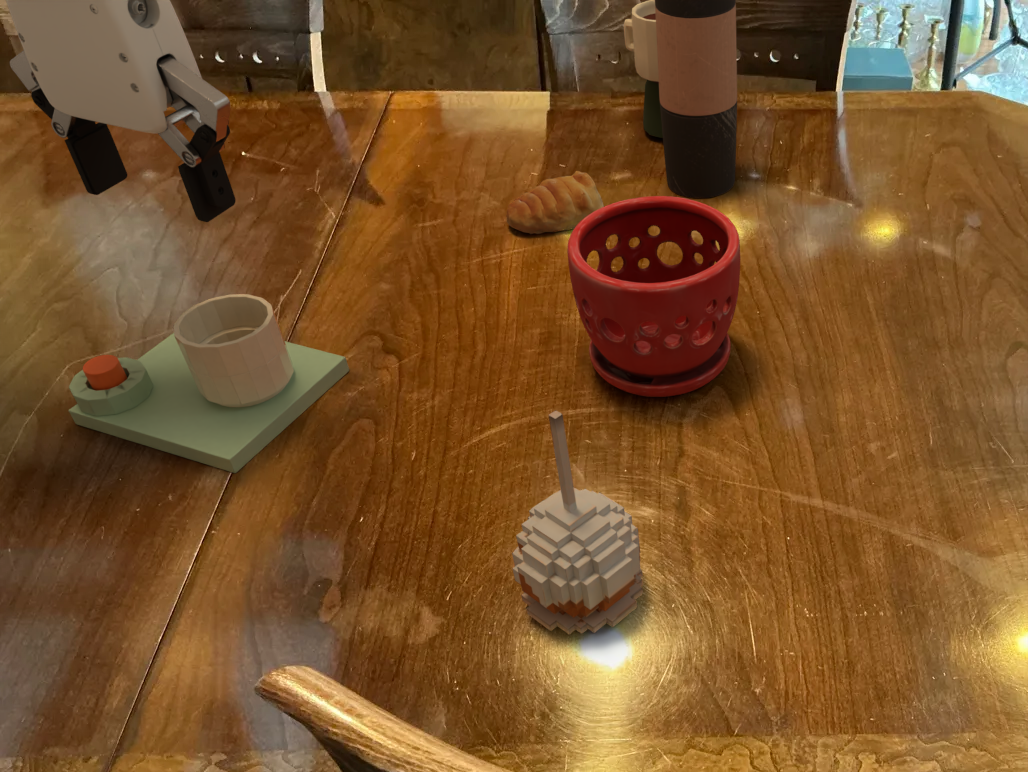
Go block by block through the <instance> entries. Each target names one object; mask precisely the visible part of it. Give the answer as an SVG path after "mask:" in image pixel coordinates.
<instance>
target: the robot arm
mask: <svg viewBox="0 0 1028 772" xmlns="http://www.w3.org/2000/svg"><path fill="white" fill-rule="evenodd" d="M5 2H6V5H7V8H8V11H9V14H10V16H11V20H12V23H13V26H14V28H15V32H16V34H17V36H18V39H19V41H20V44H21V46H22V49H23V50H22V51H21V52H19V53H18V54H17V55H15V56H14V57H13V58H11V59H10V60H9V66H10V68H11V70H12V71H13V72H14V74H15V75H16V76H17V77H18V79H19V80H20V81H21V83H22V84H23V85H24V86H25V88H26V89H27V91H28V92H31V93H30V96H31V100H32V101H33V103H34V104H35V105H36V106H37V107H38V108H39V109H40V110H41V111H42V112H43V113H44V114H45V115H46V116H47V117H48V118H49V119H50V120H51V123H50V125H51V127H52V129H53V132H54V133H55V134H56V135H57V136H59V137H60V138H62V139H64V143H65V145H66V147H67V150H68V152H69V154H70V156H71V158H72V161H73V164H74V165H75V168H76V170H77V172H78V174H79V176H80V179H81V181H82V183H83V186H84V188H85V190H86V192H87V193H89V194H90V195H94V196H99V195H100V194H103V193H104V192H105V191H108V190H109V189H111V188H113V187H115V186H116V185H118V184H119V183H122V182H123V181H125V180H126V179H128V171H127V170H126V167H125V164H124V162H123V159H122V157H121V155H120V153H119V150H118V147H117V144H116V142H115V140H114V137H113V135H112V133H111V131H110V129H109V126H112V127H113V126H114V127H118V128H122V129H127V130H132V131H136V132H140V133H141V132H142V133H145V134H146V133H147V134H152V135H153V134H154V135H157V134H158V135H159V136H160V138H161V139H162V140H163V141H164V142H165V143H166V145H168V146H169V148H170V149H171V150H172V151H173V152H174V153H175V154H176V155H177V157H179V158H180V160H181V161H182V162H183V163H182V164H180V165H178V166H177V168H178V172H179V175H180V178H181V181H182V183H183V185H184V188H185V191H186V193H187V197H188V200H189V202H190V204H191V207H192V210H193V212H194V215H195V217H196V218H197V220H198V221H200V222H204V223H209V222H210V221H212V220H214V219H216V218H217V217H218V216H220V215H222V214H223V213H224V212H226V211H227V210H229V209H231V208H233V206H234V205H236V200H237V199H236V196H235V194H234V190H233V186H232V185H231V181H230V178H229V176H228V173H227V170H226V167H225V164H224V160H223V159H222V155H221V152H222V151H224V150H225V149H226V143H225V142H226V141H227V139H228V138H229V135H230V134H231V128H230V126H229V124H230V114H231V106H232V105H231V101H230V99H229V98H228V96H227V95H226V94H224V92H221V91H220V90H219V89H217V88H216V87H214V86H213V85H212V84H210V83H209V82H207V81H206V80H204V79H203V77H202V74H201V71H200V69H199V66H198V63H197V61H196V58H195V55H194V53H193V51H192V48H191V46H190V43H189V40H188V38H187V36H186V33H185V31H184V29H183V26H182V24H181V22H180V20H179V17H178V15H177V13H176V10H175V8H174V6H173V4H172V2H171V0H5ZM168 108H173V109H174V110H175V111H173V112H171V113H170V114H168V115H166V114H165V112H166V111H168ZM184 124H185V125H186V126H187V127H188V128H189V130H190V131H191V132H192V133H193V135H192V137H191V139H190V140H188V139H187V138H186V137H185V135H183V133H182V132H181V131H180V130H179V129H178V127H180V126H182V125H184ZM108 125H109V126H108ZM65 138H66V139H65Z"/></svg>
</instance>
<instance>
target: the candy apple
mask: <svg viewBox="0 0 1028 772" xmlns="http://www.w3.org/2000/svg"><path fill="white" fill-rule="evenodd" d="M548 421H549V427H550V432H551V433H550V434H551V440H552V445H553V451H554V457H555V463H556V464H555V465H556V468H557V476H558V481H559V486H560V490H557V491H556V492H554V493H552V494H550V496H548V497H547V498H545V499H543V500H542V501H540V502H539V503H537V504H536V505H534V506H533V507H531V508H530V510H528V512H529V516H528V517H527V520H525V521H524V522H522V523H521V528H522V530H521V531H520V532H519V533H517V534H516V535H515V537H516V540H517V541H516V542H517V547H516V548H515V549H514V551H513V552H511V555H512V560H513V563H514V566H513V567H512V573H513V578H514V581H515V582H516V583H518V584H519V585H520V586H521V591H522V594H521V595H520V596H521V600H522V602H523V603H525V605H528V606H527V607H525V608H526V609H525V610H526V614H527V615H528V616H529V617H531V618H532V619H534V620H535V621H536V622H538V623H539V624H540V625H542V626H543V627H545V628H546V629H547V630H548V631H550V632H552V631H553V630H554V629H556V628H557V627H558V628H559V629H560V630H562V631H563V632H565V633H566V634H568V635H571V634H573V632H574V631H577V632H578V633H580V634H581V635H582V634H583V633H585V632H586V631H587V630H589V631H590V632H592V633H593V634H595V633H596V632H598V631H599V630H600V629H601V628H602V627H604V626H605V625H606V624H607V625H609V626H610V627H612V628H614V627H616V625H617V624H619V623H620V622H621V621H622V620H624V619H625V618H626V617H627V616H628V615H630V614H631V613H632V612H633V611H635V610H636V609H637V608H638V601H637V599H638V598H640V597H641V596H642V595H644V588H643V587H642V586H643V585H644V582H643V578H642V577H643V576H644V574H643V569H641V544H640V535H639V527H637V526H636V525H634V524H633V517H632V514H630V513H628V512H626V511H625V507H624V506H623V505H621V504H620V503H618V502H616V501H614V500H613V499H611V498H609V496H606V495H605V494H603V493H601V492H598V493H597V492H596V491H594V490H593V489H592V490H588V489H587V488H583V489H580V490H579V489H578V488H576V487H574V481H573V474H572V473H573V472H572V467H571V461H570V454H569V447H568V442H567V441H568V440H567V435H566V428H565V421H564V415H563V413H562V412H560V411H558V410H556V409H555V410H554V411H552V412H551V413H549V414H548Z"/></svg>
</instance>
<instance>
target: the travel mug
mask: <svg viewBox="0 0 1028 772" xmlns="http://www.w3.org/2000/svg"><path fill="white" fill-rule="evenodd" d="M736 3H737V0H655V13H656V34H657V55H658V76H659V97H660V110H661V122H662V133H663V138H662V143H663V144H662V145H663V155H664V165H665V175H666V183H667V186H668V188H669V190H670V191H672V192H673V194H676V195H679V196H681V197H684V198H692V199H709V198H714V197H719V196H721V195H724V194H726V193H727V192H729V191H730V190H731V189H732V188H733V187H734V186H735V182H736V167H737V164H736V163H737V127H738V126H737V124H738V62H737V59H738V58H737V57H738V56H737V55H738V53H737V4H736Z"/></svg>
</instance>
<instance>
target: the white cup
mask: <svg viewBox="0 0 1028 772" xmlns="http://www.w3.org/2000/svg"><path fill="white" fill-rule="evenodd" d="M173 333H174V336H175V339H176V341H177V343H178V345H179V348H180V350H181V352H182V354H183V356H184V359H185V361H186V363H187V365H188V368H189V370H190V372H191V374H192V377H193V379H194V381H195V383H196V385H197V388H198V390H199V392H200V393H201V394H202V395H203V396H204V397H205V398H206V399H207V400H208V401H210V402H214V403H217V404H219V405H222V406H226V407H247V406H252V405H256V404H259V403H262V402H265V401H267V400H269V399H271V398H273V397H274V396H276V395H277V394H279V393H280V392H281V391H282V390H283V389H284V388H285V387H286V385H287V383H288V382H289V380H290V378H291V376H292V374H293V372H294V369H293V364H292V360H291V358H290V355H289V352H288V349H287V346H286V344H285V341H286V340H285V338H284V336H283V333H282V330H281V327H280V325H279V321H278V319H277V316H276V313H275V311H274V308H273V305H272V304H271V303H269V301H267V300H266V299H265V298H264V297H261V296H257V295H252V294H249V293H240V294H239V293H238V294H237V293H235V294H234V293H233V294H232V293H229V294H225V295H219V296H216V297H215V296H214V297H211V298H209V299H206V300H203V301H201V302H198V303H197V304H194V305H192V306H191V307H190V308H188V309H187V310H185V311H184V312H183V313H181V314H180V315H179V316H178V318H177V320H176V321H175V323H174V324H173Z"/></svg>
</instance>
